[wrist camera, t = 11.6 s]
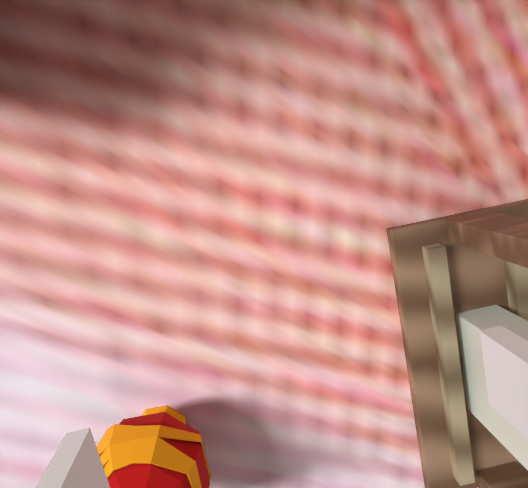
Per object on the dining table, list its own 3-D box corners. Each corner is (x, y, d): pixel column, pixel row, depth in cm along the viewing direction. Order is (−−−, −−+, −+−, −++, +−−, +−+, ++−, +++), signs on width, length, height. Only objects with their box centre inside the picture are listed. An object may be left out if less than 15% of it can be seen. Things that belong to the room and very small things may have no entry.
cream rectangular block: (455, 313, 42) (543, 370, 30) (499, 303, 42) (603, 357, 30) (467, 408, 44) (554, 497, 32) (509, 399, 44) (610, 484, 32)
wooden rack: (386, 228, 42) (476, 264, 27) (529, 198, 42) (698, 216, 27) (425, 487, 47) (518, 642, 32) (552, 458, 47) (705, 596, 32)
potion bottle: (224, 390, 43) (221, 506, 29) (202, 484, 45) (189, 640, 30) (115, 371, 42) (54, 481, 27) (97, 468, 44) (29, 622, 29)
